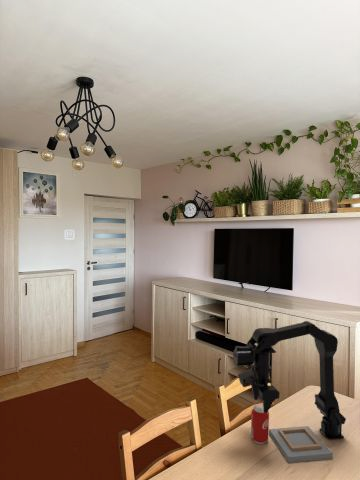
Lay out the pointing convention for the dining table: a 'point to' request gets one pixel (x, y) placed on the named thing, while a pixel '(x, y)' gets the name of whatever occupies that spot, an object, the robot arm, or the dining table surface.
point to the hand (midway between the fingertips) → (260, 405)
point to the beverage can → (259, 425)
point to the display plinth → (299, 444)
